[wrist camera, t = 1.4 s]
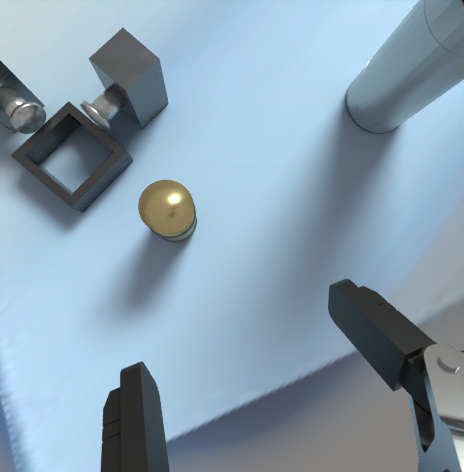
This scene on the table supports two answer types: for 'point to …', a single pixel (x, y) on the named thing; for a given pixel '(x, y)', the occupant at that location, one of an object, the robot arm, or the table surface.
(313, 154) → the table surface
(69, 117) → the shaft rig
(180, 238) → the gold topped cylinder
